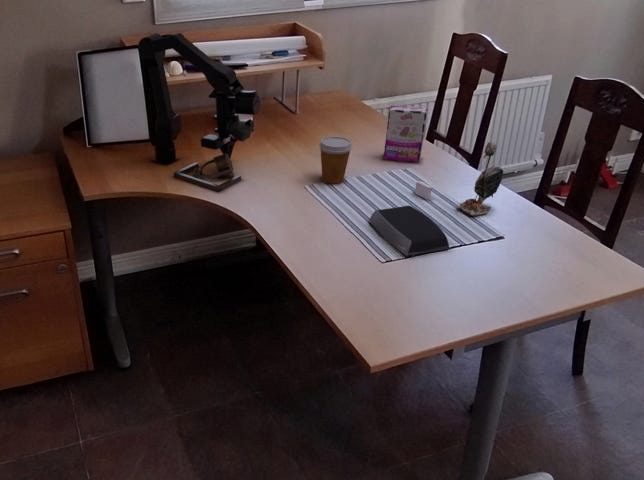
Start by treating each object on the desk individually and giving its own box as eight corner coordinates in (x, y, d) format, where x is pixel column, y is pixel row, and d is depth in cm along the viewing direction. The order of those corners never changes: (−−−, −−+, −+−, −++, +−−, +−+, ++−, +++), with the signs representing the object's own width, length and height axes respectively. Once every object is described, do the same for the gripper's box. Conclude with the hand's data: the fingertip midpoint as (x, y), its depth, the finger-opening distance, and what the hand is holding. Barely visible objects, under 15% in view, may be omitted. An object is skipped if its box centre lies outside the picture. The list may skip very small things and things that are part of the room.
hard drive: (402, 258, 150) (405, 243, 148) (366, 222, 166) (367, 208, 164) (452, 250, 153) (455, 235, 150) (411, 215, 169) (413, 201, 166)
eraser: (417, 192, 180) (419, 180, 178) (430, 198, 177) (432, 186, 175) (414, 193, 180) (416, 181, 178) (426, 199, 176) (428, 187, 174)
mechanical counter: (232, 168, 187) (238, 149, 193) (190, 162, 189) (198, 143, 196) (231, 187, 192) (237, 168, 199) (190, 181, 194) (198, 162, 201)
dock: (173, 177, 197) (173, 172, 196) (196, 166, 203) (195, 162, 202) (219, 192, 186) (219, 187, 185) (241, 180, 192) (241, 175, 192)
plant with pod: (504, 212, 168) (523, 140, 158) (468, 218, 166) (484, 146, 155) (484, 199, 175) (501, 130, 164) (449, 206, 172) (463, 135, 162)
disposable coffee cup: (354, 178, 190) (358, 140, 184) (337, 188, 185) (341, 150, 178) (327, 170, 196) (330, 133, 190) (310, 180, 190) (313, 142, 184)
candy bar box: (420, 157, 202) (428, 107, 193) (419, 163, 198) (427, 112, 189) (384, 154, 206) (391, 104, 197) (382, 159, 202) (389, 109, 193)
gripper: (227, 126, 180) (229, 176, 188) (265, 107, 191) (266, 155, 199) (197, 119, 186) (201, 168, 195) (236, 101, 197) (238, 148, 206)
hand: (228, 160), depth 198 cm, fingers closed
